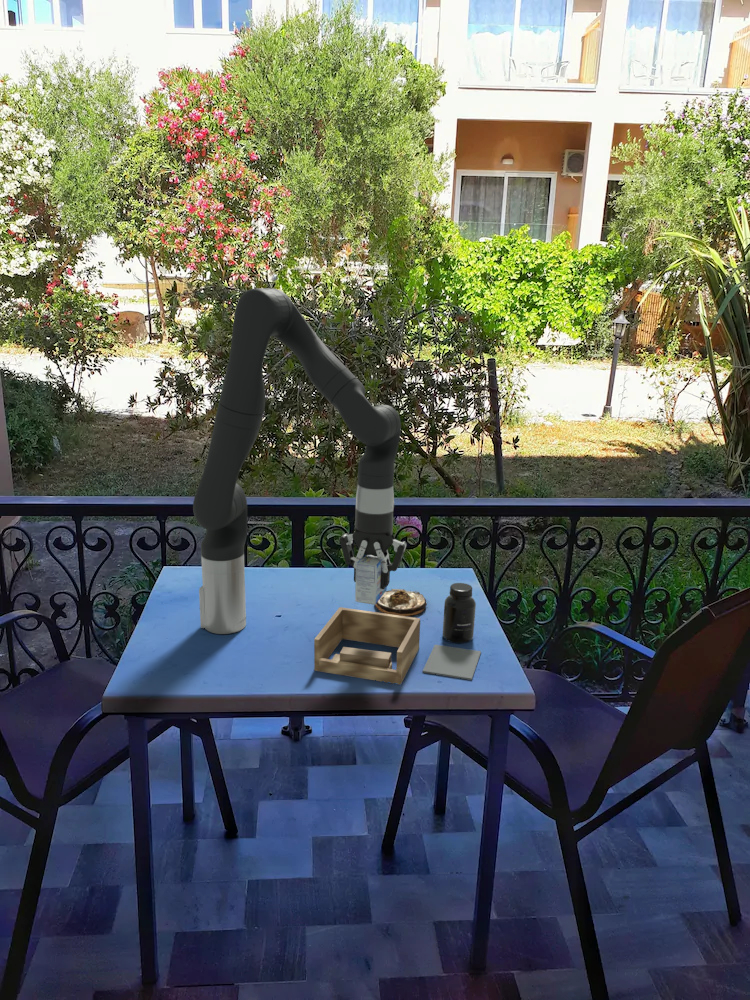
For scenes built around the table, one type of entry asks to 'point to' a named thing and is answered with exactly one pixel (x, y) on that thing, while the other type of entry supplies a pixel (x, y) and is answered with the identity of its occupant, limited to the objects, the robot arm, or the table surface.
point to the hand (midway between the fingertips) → (371, 585)
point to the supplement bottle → (459, 614)
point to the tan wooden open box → (370, 631)
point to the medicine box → (368, 580)
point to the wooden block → (364, 657)
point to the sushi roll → (401, 602)
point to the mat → (452, 662)
